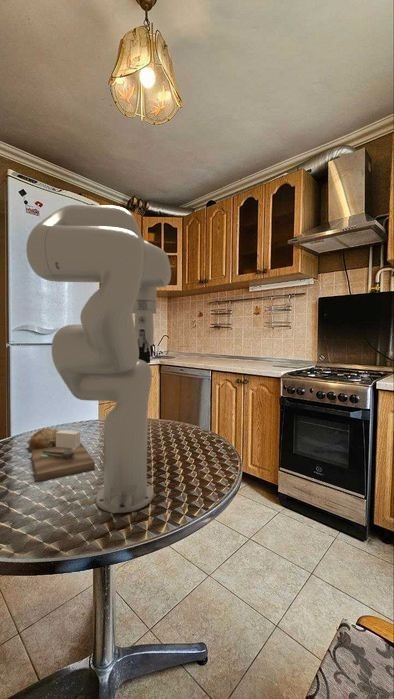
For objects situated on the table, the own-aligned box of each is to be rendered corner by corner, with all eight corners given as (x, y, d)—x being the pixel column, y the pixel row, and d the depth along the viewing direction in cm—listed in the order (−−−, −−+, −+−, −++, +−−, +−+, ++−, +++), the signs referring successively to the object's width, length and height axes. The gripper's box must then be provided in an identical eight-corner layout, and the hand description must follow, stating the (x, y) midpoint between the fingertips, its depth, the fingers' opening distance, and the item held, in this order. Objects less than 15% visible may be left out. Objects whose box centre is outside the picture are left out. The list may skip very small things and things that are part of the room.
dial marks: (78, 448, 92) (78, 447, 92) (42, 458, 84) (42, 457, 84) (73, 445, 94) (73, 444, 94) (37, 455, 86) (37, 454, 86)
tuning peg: (80, 455, 86) (80, 431, 86) (74, 459, 83) (74, 434, 83) (47, 451, 88) (47, 428, 88) (39, 456, 85) (39, 431, 85)
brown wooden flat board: (94, 469, 82) (94, 462, 82) (36, 481, 74) (36, 474, 74) (80, 448, 97) (80, 442, 97) (31, 457, 90) (31, 450, 90)
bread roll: (40, 466, 92) (49, 444, 91) (17, 448, 95) (26, 426, 94) (64, 454, 102) (72, 434, 100) (43, 438, 104) (50, 418, 103)
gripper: (154, 305, 82) (154, 367, 82) (157, 310, 99) (157, 362, 100) (126, 304, 81) (126, 367, 82) (134, 310, 98) (134, 362, 99)
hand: (143, 364), depth 91 cm, fingers open, 9 cm apart
